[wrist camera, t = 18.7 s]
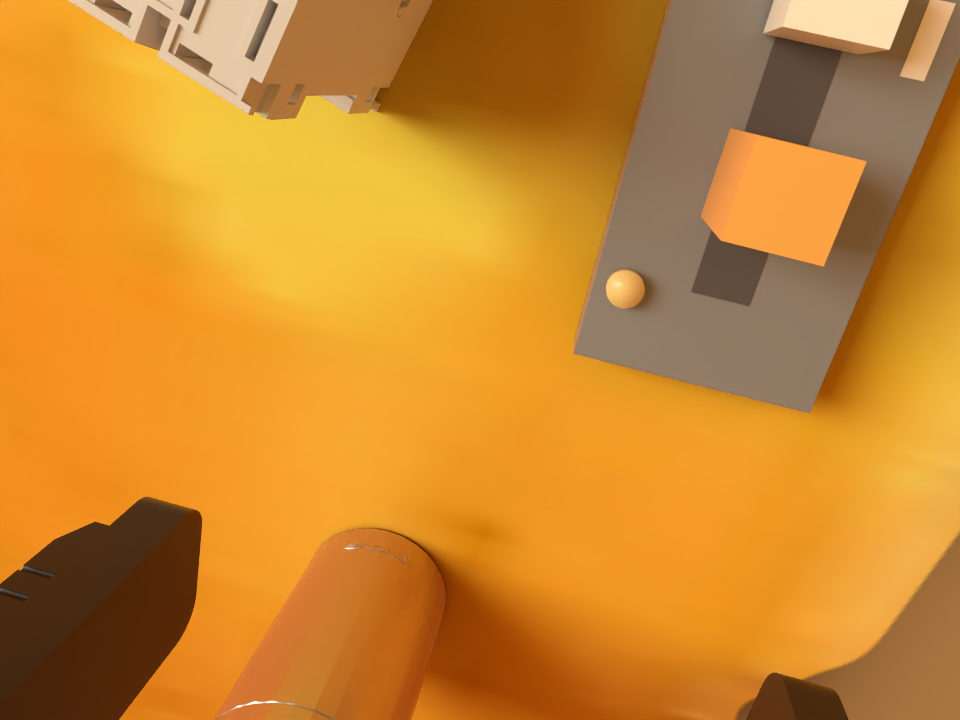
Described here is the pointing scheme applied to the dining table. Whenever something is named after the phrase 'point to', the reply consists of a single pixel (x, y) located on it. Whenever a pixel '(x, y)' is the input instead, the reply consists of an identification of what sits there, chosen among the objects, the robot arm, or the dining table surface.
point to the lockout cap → (780, 196)
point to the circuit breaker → (275, 46)
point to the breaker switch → (837, 23)
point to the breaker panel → (689, 173)
